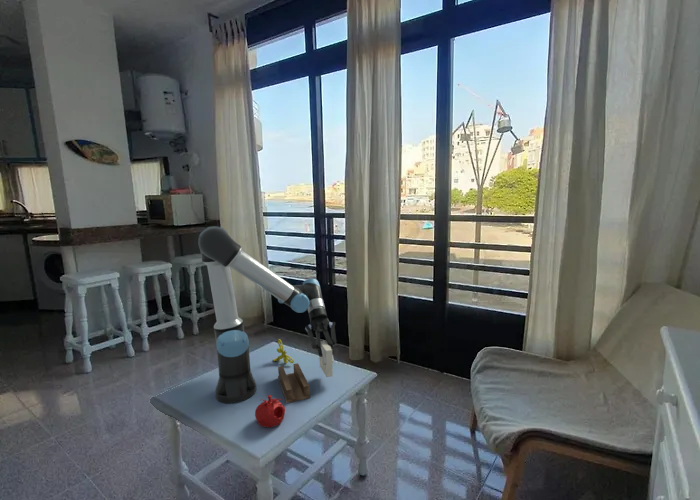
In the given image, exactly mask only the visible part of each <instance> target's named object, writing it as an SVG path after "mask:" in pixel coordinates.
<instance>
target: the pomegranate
mask: <svg viewBox="0 0 700 500" xmlns="http://www.w3.org/2000/svg"><path fill="white" fill-rule="evenodd" d="M281 400H282V399H281V398H276V397H275V398H274V397H273V398H272V395H271V394H270V395H269V394H268V395H267V400H265V399H261V401H262V402H261V403H259V404H258V405H257V407H256V409H255V411H254V416H255V417H254V418H255V420H256V422H257V424H258V425H259V426H261V427H262V428H274V427H276V426H279V425H280V424H282V422H283V420H284V418H285V414H286V407H285V406H284V405H283V404H282V402H280V401H281Z"/></svg>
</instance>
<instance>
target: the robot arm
mask: <svg viewBox="0 0 700 500" xmlns="http://www.w3.org/2000/svg"><path fill="white" fill-rule="evenodd" d="M198 248H199V250H200V256H201V261H202V263H203V264H204V265H206V267H207V273H208V277H209V278H208V279H209V284H210V289H211V295H212V302H213V307H214V312H215V313H214V314H215V319H216V322H215V323H214V325H213V331H214V337H215V343H216V344H215V347H216V355H217V366H218V367H217V368H218V376H219V377H218V380H217V385H216V387H215V399H216V400H217V401H218V402H220V403H222V404H235V403H239V402H244V401H246V400H248V399H250V398H252V396H254V395H255V393H257V382H256V381H255V378H254V376H253V374H252V371H251V359H250V341H249V336H248V334H247V333H246V332H245V326H244V322H243V321H244V320H243V318H240V317H239V314H238V308H237V302H236V301H237V299H236V296H235V295H236V294H235V289H234V288H235V287H234V282H233V276H232V270H234V271H236V272H237V273H239V274H240V275H241V276H244V277H245V278H246V279H248V280H249V281H250V282H252V283H254V284H255V285H257V286H258V287H260V288H261V289H262V290H264V291H266V292H267V293H269V294H270V295H271V296H273V297H274V298H275V299H277V301H278V303H279V304H285V305H286V306H288V307H290V308H291V310H292V311H294V312H295V313H299V314H300V313H301V314H302V313H305V312H306V311H307V312H308V316H309V321H310V322H309V324H308V325H305V328H304V330H305V332H306V333H307V335H308V338H309V341H310V344H311V347H312V349H313V350H316V351H317V355H318V357H319V358H320V357H322V362H323V365H325V364H326V359H325V354H324V350H323V347H321V341H322V340H321V332H322V333H323V335H324V337H325V338H324V339H325V341H326V343H327V344H328V345H329V346H330V348H331V349H332V365H334V362H335V359H334V354H335V349H334V347H335V346H336V345H337V335H336V322H335V321H332V322H331V321H330V320H329V318H328V315H327V310H326V306H325V303H324V302H325V301H324V298H323V295H322V289H321V285H320V283H319V281H318V279H317V278H316V279H315V278H309V279H305V280H304V281H303V282H302V284H295V285H292V284H291V283H289V282H288V281H287V280H285V279H284V278H282V277H281V276H279V275H278V274H276V273H275V272H273V271H272V270H271V269H269V268H268V267H267V266H265V265H263V264H262V263H261V262H259V261H258V260H257V259H256V258H254V257H252V256H251V255H249V254H248V253H247V252H245V251H244V250H243V247H242V245H240V244H238V242H236V241H235V240H234V239H233V238H232V237H231V236H230V235H229V232H228V231H227V230H226V229H224V228H223V227H220V226H217V225H215V226H214V225H212V226H207V227H205V228H204V229H203V230H202V231H201V232H200V234H199V235H198ZM231 269H232V270H231ZM328 327H329V328H330V333H329V331H328ZM312 329H313V331H315V338H314V334H313V331H312Z"/></svg>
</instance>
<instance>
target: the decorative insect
mask: <svg viewBox="0 0 700 500" xmlns="http://www.w3.org/2000/svg"><path fill="white" fill-rule="evenodd" d="M277 343H278V348H276V352H278V354H281V355H278V356H277V357H276V358H273V359H272V362H275V361H280V360H282V359H283V362H284V364H287V363H288V362H289V363H290V364H294V363H295V362H294V358H292V357H291V356H290V355H288V354H287V351H286V349H285V350H284V344H283V342H282V340H281V339H280V338H278V340H277Z"/></svg>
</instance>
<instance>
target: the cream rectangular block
mask: <svg viewBox="0 0 700 500" xmlns="http://www.w3.org/2000/svg"><path fill="white" fill-rule="evenodd" d="M320 341H321V347H323V350H324V354H325V359H326V364H325V365H323V362H322V357H319V368H320V369H321V371H322V373H324V375H325V377H326V378H330V377H333V375H334V374H333V364H332V349H331V348H330V346H329V345H328V343H327V341H326V340H320Z"/></svg>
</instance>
